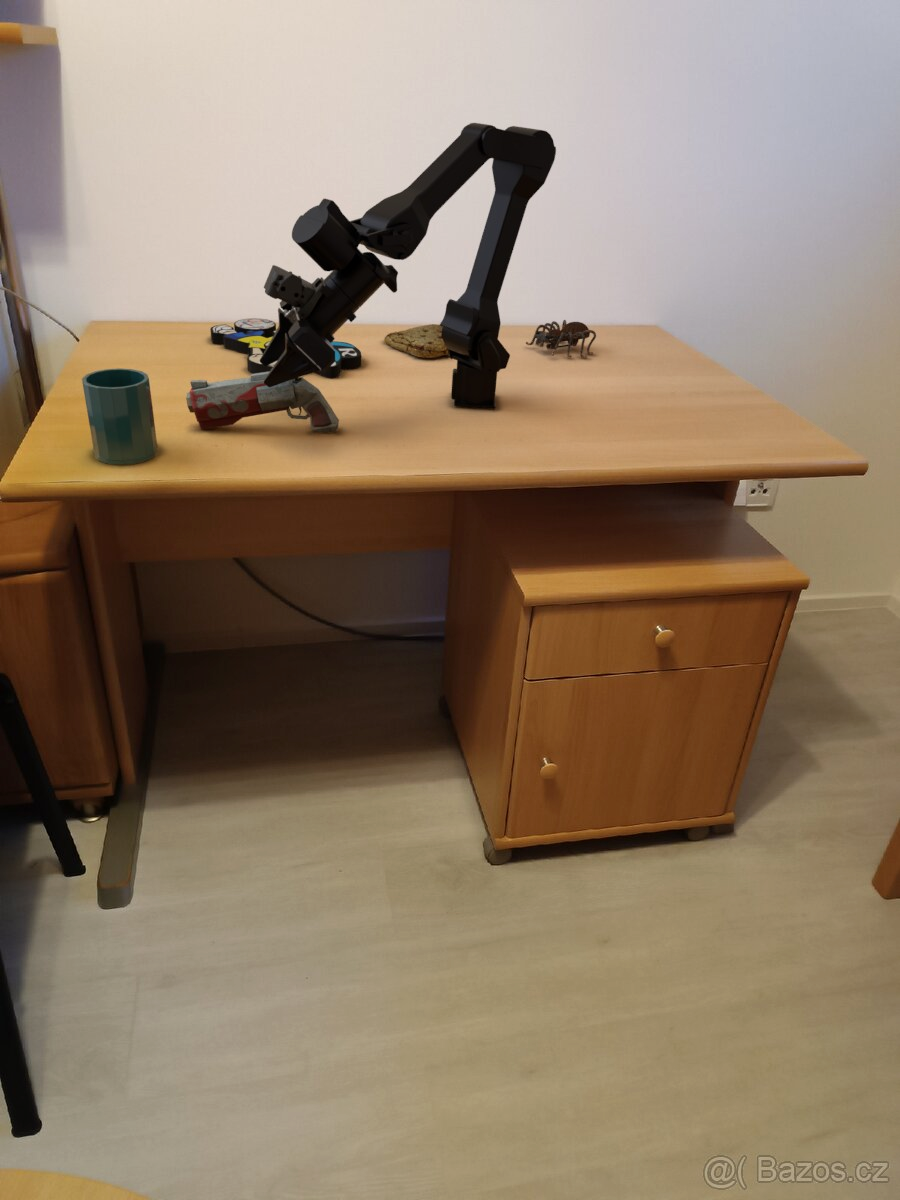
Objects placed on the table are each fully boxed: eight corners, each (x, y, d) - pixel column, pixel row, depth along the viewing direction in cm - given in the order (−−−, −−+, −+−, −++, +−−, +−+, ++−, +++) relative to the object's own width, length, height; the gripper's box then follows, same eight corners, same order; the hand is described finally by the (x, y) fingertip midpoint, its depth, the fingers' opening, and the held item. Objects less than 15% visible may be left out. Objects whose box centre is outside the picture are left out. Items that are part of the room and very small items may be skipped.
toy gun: (205, 444, 127) (185, 377, 122) (340, 424, 127) (326, 356, 122) (200, 456, 124) (179, 387, 118) (339, 435, 124) (324, 365, 118)
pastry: (480, 339, 171) (482, 323, 169) (469, 365, 156) (470, 348, 154) (393, 330, 172) (393, 314, 171) (374, 355, 158) (374, 338, 156)
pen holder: (165, 443, 118) (156, 370, 113) (147, 466, 112) (137, 390, 106) (106, 440, 118) (95, 366, 113) (85, 463, 112) (72, 386, 106)
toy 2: (517, 345, 169) (519, 318, 166) (564, 338, 174) (567, 313, 172) (557, 363, 160) (561, 335, 157) (606, 355, 166) (610, 329, 163)
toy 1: (163, 367, 145) (337, 389, 141) (161, 355, 144) (337, 377, 140) (232, 325, 168) (383, 343, 164) (231, 315, 167) (383, 332, 163)
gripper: (293, 232, 120) (216, 313, 124) (307, 260, 105) (219, 352, 108) (350, 291, 126) (275, 368, 130) (371, 326, 111) (286, 412, 114)
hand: (264, 373), depth 120 cm, fingers open, 9 cm apart
